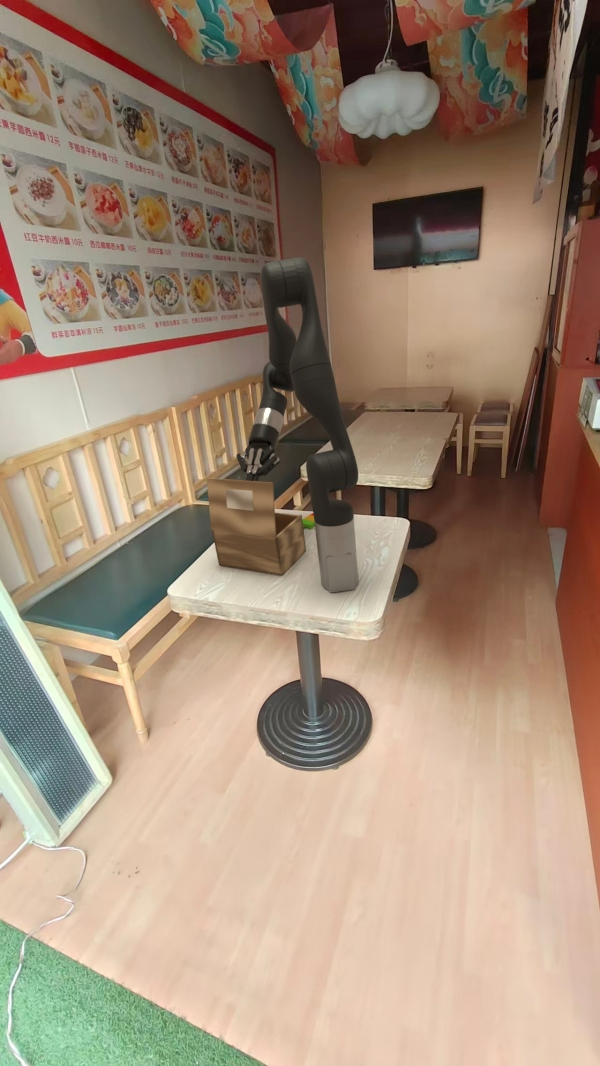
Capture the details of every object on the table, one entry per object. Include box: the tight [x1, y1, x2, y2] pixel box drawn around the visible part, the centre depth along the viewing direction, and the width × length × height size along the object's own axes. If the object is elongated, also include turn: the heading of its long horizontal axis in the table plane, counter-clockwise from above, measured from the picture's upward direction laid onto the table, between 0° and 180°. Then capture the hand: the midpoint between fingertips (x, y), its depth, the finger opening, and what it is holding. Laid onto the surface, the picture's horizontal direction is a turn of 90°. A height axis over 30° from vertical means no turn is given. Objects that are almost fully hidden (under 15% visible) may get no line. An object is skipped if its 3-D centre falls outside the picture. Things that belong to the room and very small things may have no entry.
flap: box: [206, 477, 276, 538], centre depth 131 cm, size 14×20×1 cm
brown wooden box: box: [211, 512, 307, 577], centre depth 141 cm, size 14×20×11 cm
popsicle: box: [302, 512, 315, 530], centre depth 160 cm, size 6×15×2 cm, turn 139°
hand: (249, 488), depth 134 cm, fingers closed
